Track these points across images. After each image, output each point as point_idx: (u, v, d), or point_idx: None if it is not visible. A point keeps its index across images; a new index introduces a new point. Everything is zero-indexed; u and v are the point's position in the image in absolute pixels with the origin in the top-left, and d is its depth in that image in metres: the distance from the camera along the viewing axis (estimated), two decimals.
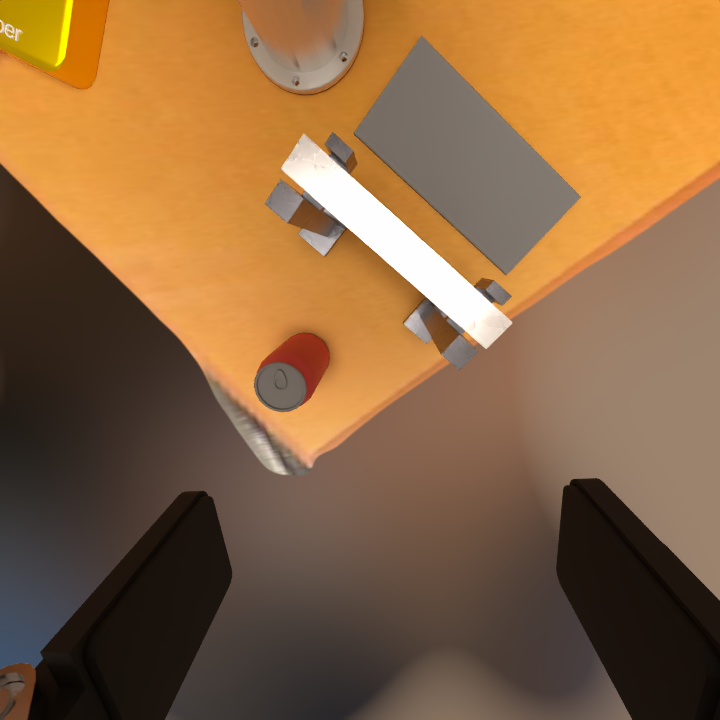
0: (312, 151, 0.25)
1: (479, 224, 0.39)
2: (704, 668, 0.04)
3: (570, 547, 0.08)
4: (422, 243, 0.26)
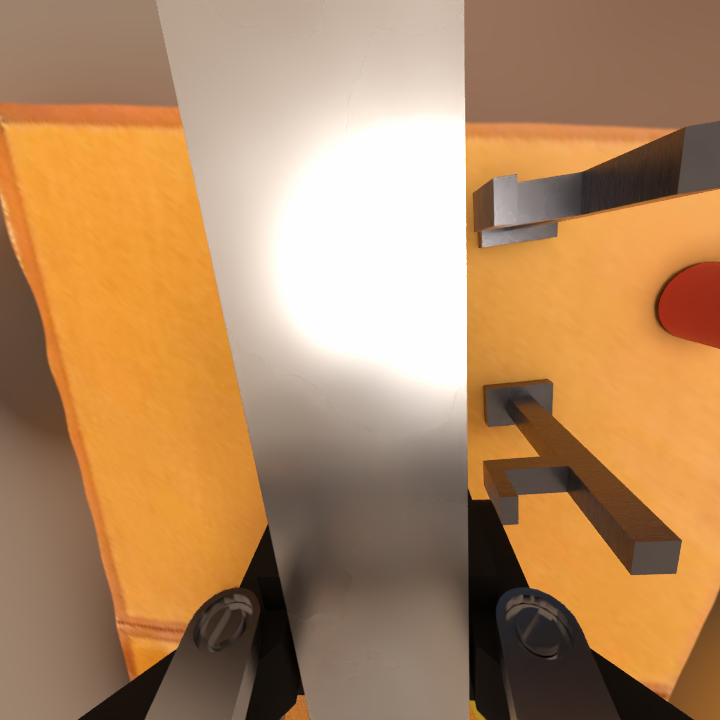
0: None
1: None
2: None
3: None
4: (297, 625, 0.06)
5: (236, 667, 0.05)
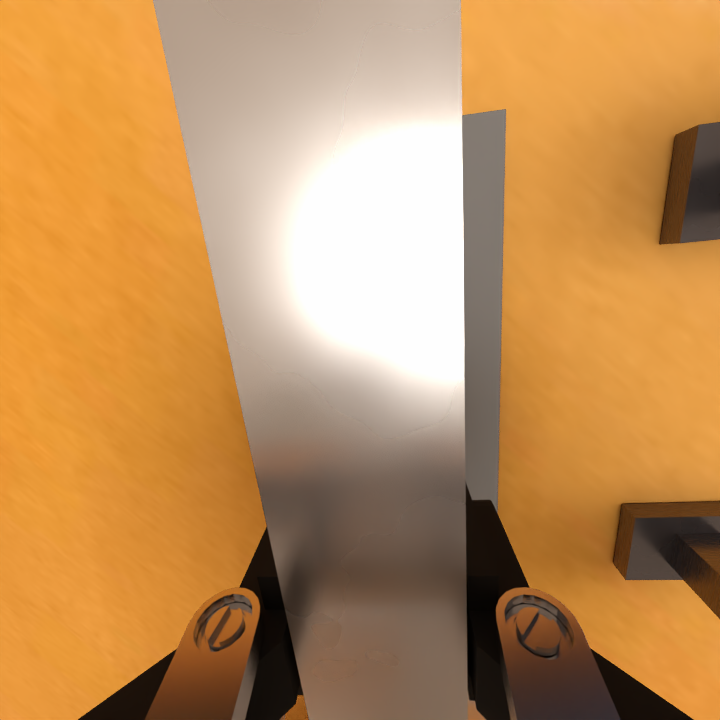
0: None
1: None
2: None
3: None
4: (295, 623, 0.06)
5: (236, 666, 0.05)
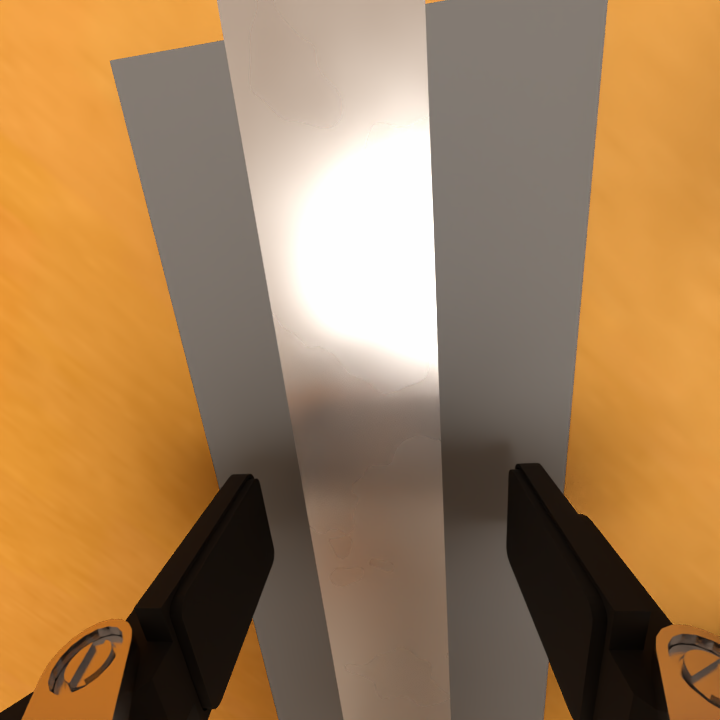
0: None
1: (501, 306, 0.09)
2: (591, 614, 0.05)
3: (514, 525, 0.09)
4: (317, 538, 0.08)
5: (108, 691, 0.05)
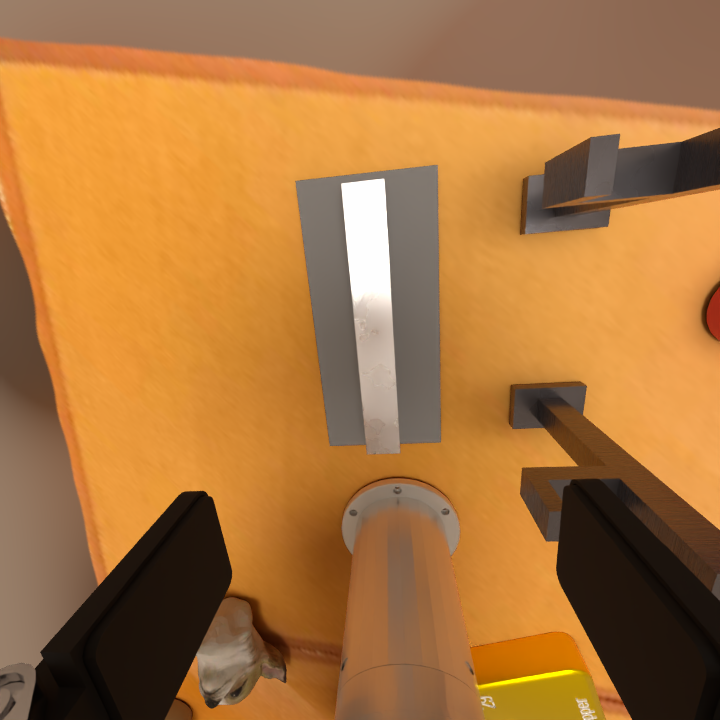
0: (372, 442, 0.29)
1: (414, 257, 0.27)
2: (704, 668, 0.04)
3: (570, 547, 0.08)
4: (356, 323, 0.26)
5: None
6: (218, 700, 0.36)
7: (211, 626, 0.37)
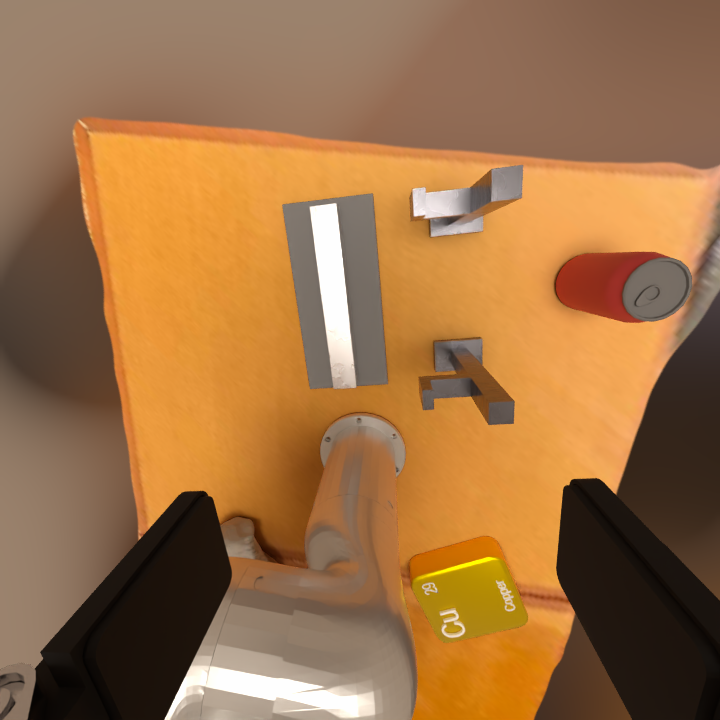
0: (336, 380, 0.43)
1: (361, 253, 0.41)
2: (704, 668, 0.04)
3: (570, 547, 0.08)
4: (322, 296, 0.40)
5: None
6: None
7: (224, 530, 0.50)
